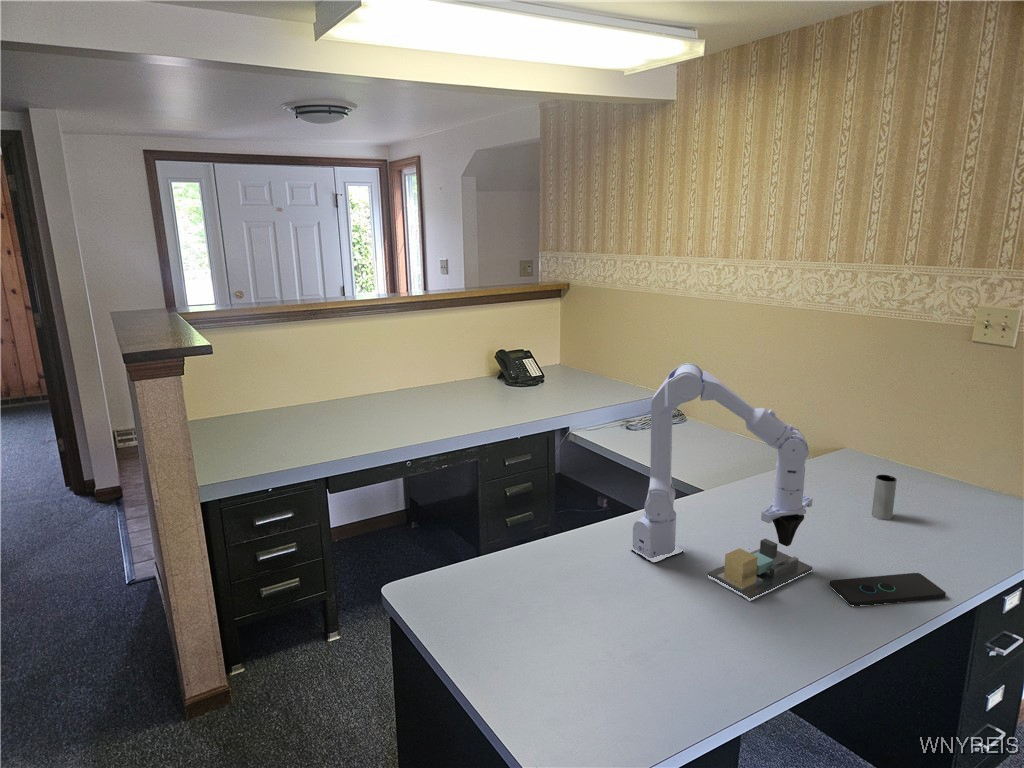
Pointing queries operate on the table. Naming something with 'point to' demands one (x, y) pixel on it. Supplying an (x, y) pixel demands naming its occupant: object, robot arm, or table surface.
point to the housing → (740, 566)
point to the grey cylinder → (884, 497)
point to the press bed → (766, 575)
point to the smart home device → (887, 589)
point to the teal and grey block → (766, 555)
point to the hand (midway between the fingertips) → (784, 543)
